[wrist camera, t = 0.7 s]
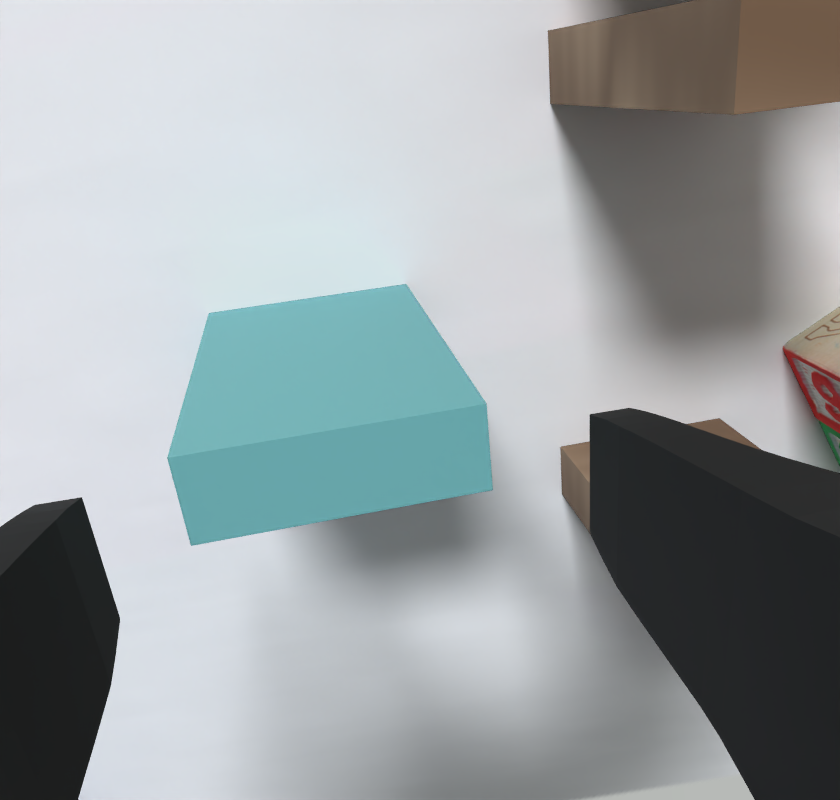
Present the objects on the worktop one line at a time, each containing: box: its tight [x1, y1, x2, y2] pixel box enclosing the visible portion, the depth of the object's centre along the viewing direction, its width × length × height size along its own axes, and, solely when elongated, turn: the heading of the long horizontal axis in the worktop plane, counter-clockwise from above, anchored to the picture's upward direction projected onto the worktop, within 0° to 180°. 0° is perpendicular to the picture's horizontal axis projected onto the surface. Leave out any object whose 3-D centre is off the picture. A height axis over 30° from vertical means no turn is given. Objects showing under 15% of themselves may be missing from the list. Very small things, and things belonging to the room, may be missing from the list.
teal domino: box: [167, 284, 493, 546], centre depth 16 cm, size 2×5×8 cm, turn 96°
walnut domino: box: [548, 0, 840, 115], centre depth 15 cm, size 2×5×8 cm, turn 96°
